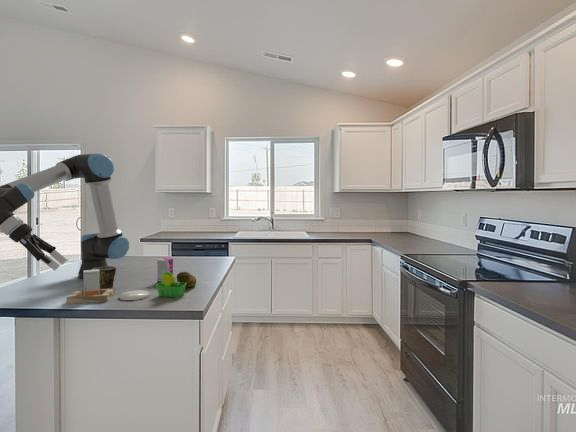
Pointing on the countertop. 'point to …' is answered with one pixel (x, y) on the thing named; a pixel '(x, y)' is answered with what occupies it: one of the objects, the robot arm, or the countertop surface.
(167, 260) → the supplement box
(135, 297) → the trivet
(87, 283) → the skincare box
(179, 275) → the potato
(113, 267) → the ceramic cup
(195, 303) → the countertop surface
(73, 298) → the block
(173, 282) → the fruit basket
